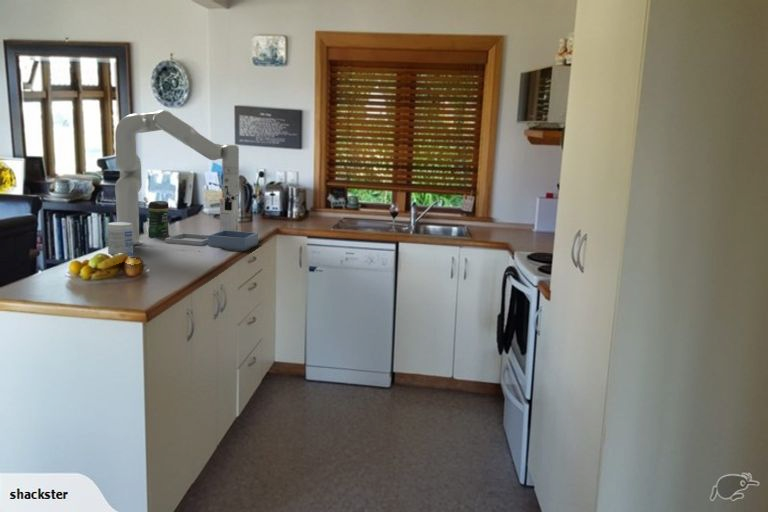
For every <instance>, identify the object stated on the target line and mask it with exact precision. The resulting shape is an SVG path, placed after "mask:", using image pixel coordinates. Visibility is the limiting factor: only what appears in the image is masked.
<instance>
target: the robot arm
mask: <svg viewBox="0 0 768 512" xmlns="http://www.w3.org/2000/svg"><path fill="white" fill-rule="evenodd" d="M155 131H157V132H158V131H163V132H165V133H166V134H168V135H170V136H171V137H173V138H175V139H176V140H177V141H179V142H181V143H182V144H183V145H185V146H187V147H189V148H190V149H192V150H193V151H195V152H196V153H198V154H200V155H202V156H203V157H204V158H206V159H208V160H210V161H217V160H221V161H222V162H221V170H222V171H221V173H222V175H223V176H222V196H223V198H224V201H225V210H230V211H231V210H232V202H231V199H236V197H237V195H239V194H240V180H239V174H240V173H239V171H240V169H239V168H240V167H239V166H240V165H239V164H240V163H239V162H240V161H239V160H240V156H239V153H240V150H239V149H240V148H239V146H238V145H236V144H219V143H214V142H213V141H211V139H208V138H206V137H205V136H203V135H202V134H200V133H199V132H198V131H197V130H196V129H195V128H194V127H193V126H191V125H189V124H188V123H186V121H183V120H182V119H180V118H179V117H177V116H176V115H174V114H173V113H171V112H170V111H168V110H165V109H160V110H158V111H154V112H148V113H131V114H128V115H126V116H124V117H123V118H122V119H120V120H119V122H118V123H117V125H116V128H115V134H114V135H115V137H114V140H115V147H114V149H115V166H116V168H117V170H119V178H118V179H117V180H116V183H115V185H114V194H115V201H116V202H115V203H116V205H115V206H116V207H115V208H116V222H126V223H132V228H133V247H137V246H138V245H139V244H140V245H141V244H143V243H144V241H143V240H141V239H140V209H139V208H140V207H139V204H140V203H139V192H140V191H141V190H142V189H141V188H142V181H143V180H142V162H141V158H140V156H139V155H138V154H137V149H136V148H137V147H136V145H137V142H136V135H137V134H143V133H149V132H155Z"/></svg>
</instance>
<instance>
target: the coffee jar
mask: <svg viewBox="0 0 768 512" xmlns="http://www.w3.org/2000/svg"><path fill="white" fill-rule="evenodd" d="M169 209H170V208H169V202H168V201H167V200H155V201H154V200H153V201H150V202H149V203H148V212H149V217H148V218H149V221H148V234H147V235H148V238H150V239H154V238H155V239H159V238H165V237H166V238H167V237H170V232H169V219H168V217H169V216H168V215H169V211H170V210H169Z"/></svg>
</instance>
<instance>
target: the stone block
mask: <svg viewBox="0 0 768 512" xmlns="http://www.w3.org/2000/svg"><path fill="white" fill-rule="evenodd" d="M231 202H232V210H231V211H230V210H225V201H224V200H223V212H226V213H235V212H237V199H231Z"/></svg>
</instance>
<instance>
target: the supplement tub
mask: <svg viewBox="0 0 768 512" xmlns="http://www.w3.org/2000/svg"><path fill="white" fill-rule="evenodd" d="M133 245H134V244H133V228H132V223H126V222H117V221H116V222H114V221H113V222H109V223H107V253H108V254H118V253H125V254H127V255H128V256H129V257H134V246H133Z"/></svg>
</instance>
